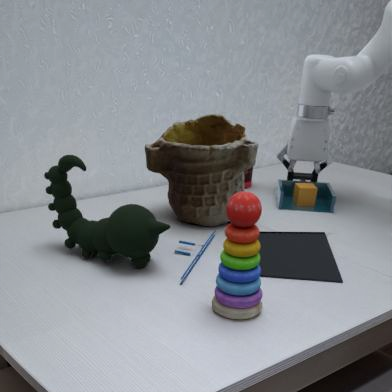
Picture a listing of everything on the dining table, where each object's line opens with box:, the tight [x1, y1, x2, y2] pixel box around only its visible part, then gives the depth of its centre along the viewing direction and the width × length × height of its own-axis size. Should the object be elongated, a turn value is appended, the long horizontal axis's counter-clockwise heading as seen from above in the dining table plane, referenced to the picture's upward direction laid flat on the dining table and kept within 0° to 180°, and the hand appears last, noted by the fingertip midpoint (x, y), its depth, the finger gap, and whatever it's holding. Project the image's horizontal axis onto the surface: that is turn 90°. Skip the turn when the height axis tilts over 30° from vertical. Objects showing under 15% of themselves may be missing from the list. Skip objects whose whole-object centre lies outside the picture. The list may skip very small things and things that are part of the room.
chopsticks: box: [174, 229, 216, 286], centre depth 97 cm, size 1×25×5 cm
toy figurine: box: [43, 154, 171, 269], centre depth 90 cm, size 9×19×25 cm
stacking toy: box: [211, 190, 263, 320], centre depth 75 cm, size 8×8×19 cm
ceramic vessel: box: [144, 113, 260, 227], centre depth 111 cm, size 23×24×25 cm
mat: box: [257, 230, 344, 283], centre depth 105 cm, size 18×34×1 cm, turn 175°
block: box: [293, 183, 318, 206], centre depth 126 cm, size 4×4×4 cm
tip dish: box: [275, 171, 337, 214], centre depth 128 cm, size 13×16×6 cm
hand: (300, 186), depth 134 cm, fingers closed on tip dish, 5 cm apart
